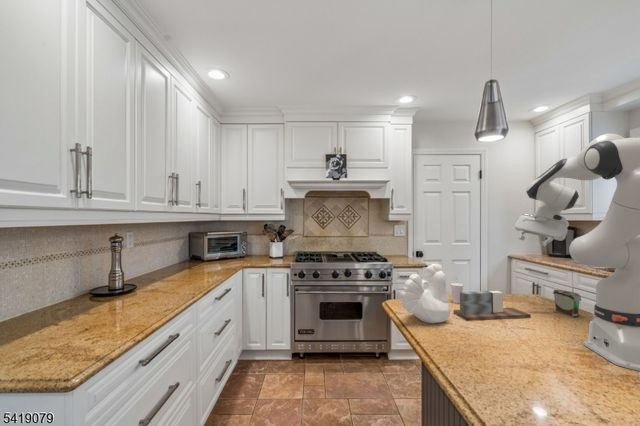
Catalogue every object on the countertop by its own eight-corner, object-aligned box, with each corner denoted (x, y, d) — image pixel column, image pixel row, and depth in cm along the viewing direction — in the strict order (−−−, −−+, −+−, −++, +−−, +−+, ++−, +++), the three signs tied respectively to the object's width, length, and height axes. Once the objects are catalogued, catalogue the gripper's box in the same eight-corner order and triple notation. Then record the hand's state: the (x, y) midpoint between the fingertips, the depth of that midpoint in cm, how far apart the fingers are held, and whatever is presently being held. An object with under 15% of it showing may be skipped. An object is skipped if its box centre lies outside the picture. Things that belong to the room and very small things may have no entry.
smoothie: (460, 300, 152) (460, 275, 152) (465, 304, 146) (465, 277, 146) (448, 300, 153) (448, 274, 153) (453, 304, 146) (452, 277, 147)
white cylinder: (498, 310, 132) (498, 290, 132) (503, 312, 129) (502, 292, 129) (488, 310, 131) (488, 291, 131) (493, 312, 128) (492, 292, 128)
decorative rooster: (435, 312, 134) (434, 260, 135) (459, 324, 119) (458, 265, 120) (388, 316, 128) (387, 262, 128) (407, 330, 113) (407, 268, 113)
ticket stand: (513, 310, 136) (512, 288, 137) (530, 317, 126) (530, 293, 127) (453, 313, 133) (453, 290, 133) (466, 320, 123) (466, 295, 123)
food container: (589, 319, 125) (589, 296, 125) (575, 318, 125) (575, 296, 125) (565, 309, 137) (565, 289, 138) (553, 309, 138) (552, 289, 138)
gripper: (519, 210, 140) (506, 233, 139) (569, 218, 122) (554, 245, 121) (524, 216, 143) (511, 239, 142) (573, 225, 125) (559, 252, 124)
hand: (531, 242), depth 131 cm, fingers open, 8 cm apart
